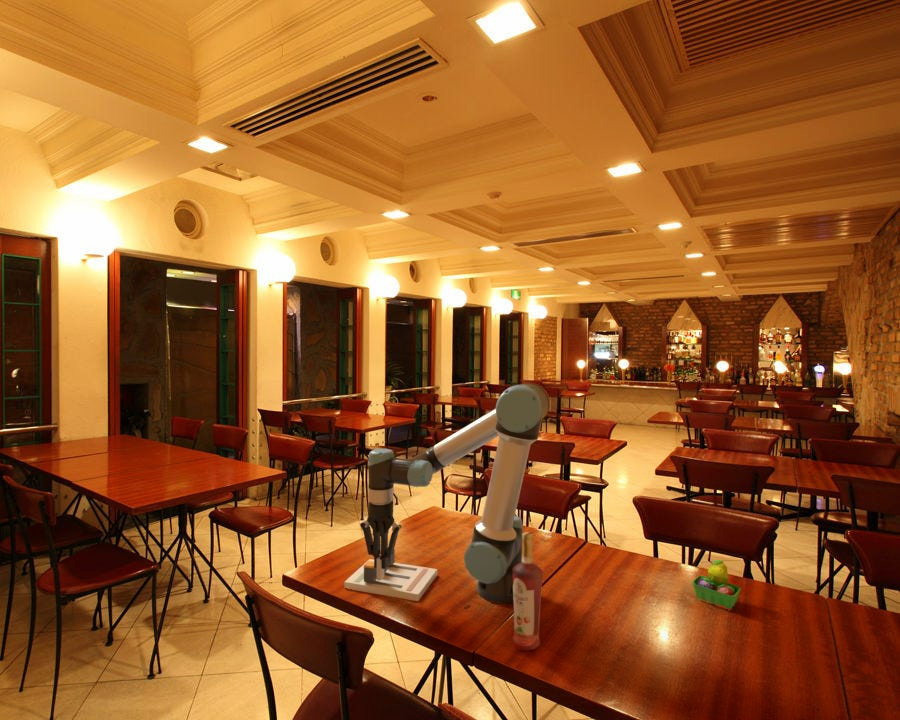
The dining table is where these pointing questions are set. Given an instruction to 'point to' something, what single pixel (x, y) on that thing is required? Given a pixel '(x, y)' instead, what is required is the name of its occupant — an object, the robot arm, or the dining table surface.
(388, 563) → the handle far
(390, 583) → the panel
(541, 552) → the dining table surface
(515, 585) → the liquor
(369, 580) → the handle
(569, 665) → the dining table surface
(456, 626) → the dining table surface
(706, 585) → the fruit basket
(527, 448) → the robot arm
